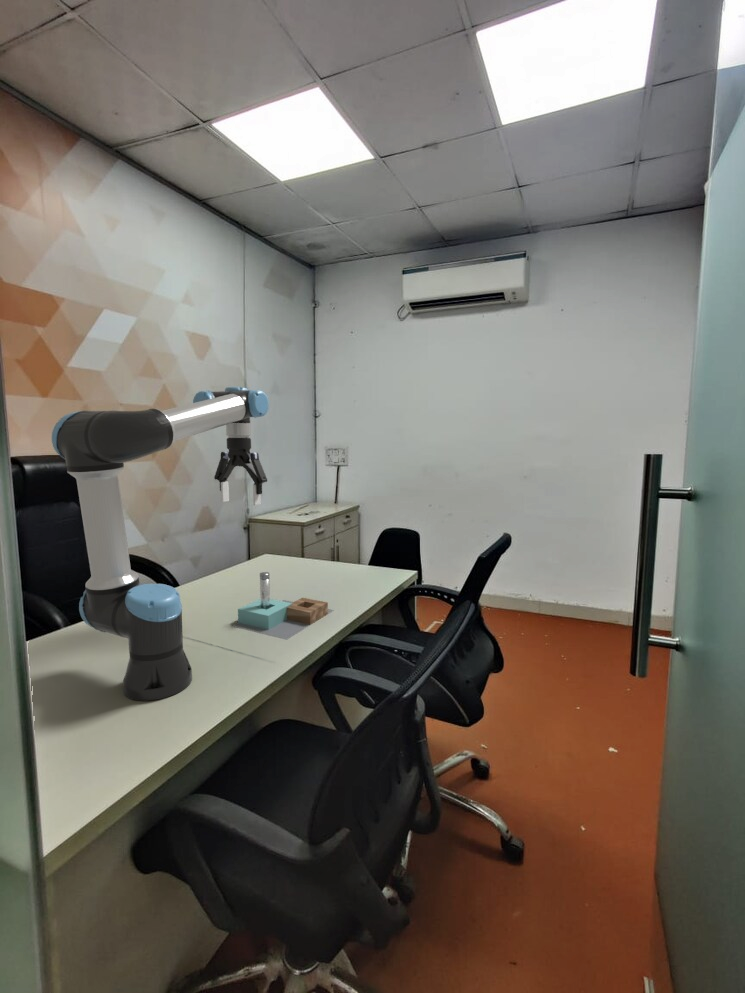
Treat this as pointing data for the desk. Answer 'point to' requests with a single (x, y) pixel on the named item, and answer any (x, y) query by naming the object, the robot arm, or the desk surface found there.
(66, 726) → the desk surface
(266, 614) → the socket
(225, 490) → the robot arm
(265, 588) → the pin
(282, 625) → the mat
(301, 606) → the block
